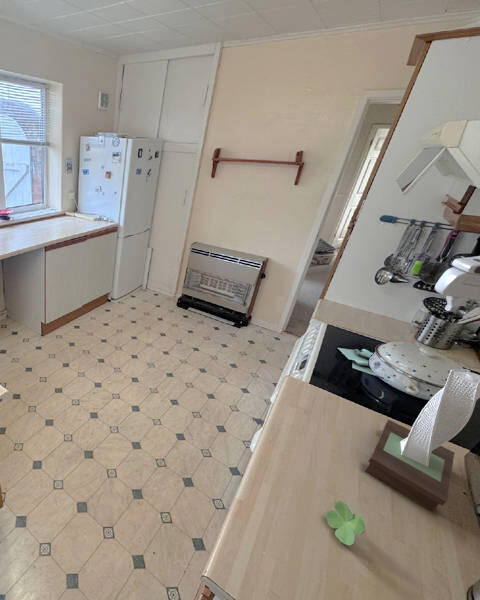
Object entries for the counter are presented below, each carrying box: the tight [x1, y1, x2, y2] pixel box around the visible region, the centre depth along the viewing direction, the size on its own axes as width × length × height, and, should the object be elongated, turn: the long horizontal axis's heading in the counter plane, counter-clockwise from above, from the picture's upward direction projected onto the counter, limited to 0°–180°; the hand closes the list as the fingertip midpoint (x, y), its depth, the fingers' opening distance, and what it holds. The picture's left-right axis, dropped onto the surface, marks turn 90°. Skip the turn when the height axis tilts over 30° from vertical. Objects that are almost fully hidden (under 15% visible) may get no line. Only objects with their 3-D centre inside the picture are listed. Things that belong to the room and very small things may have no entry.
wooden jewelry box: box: [364, 419, 455, 512], centre depth 86 cm, size 22×14×5 cm, turn 129°
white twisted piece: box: [400, 368, 480, 467], centre depth 78 cm, size 8×8×28 cm
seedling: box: [326, 500, 366, 546], centre depth 71 cm, size 7×8×7 cm
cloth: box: [337, 347, 379, 378], centre depth 130 cm, size 20×22×2 cm
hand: (469, 314), depth 90 cm, fingers open, 8 cm apart
